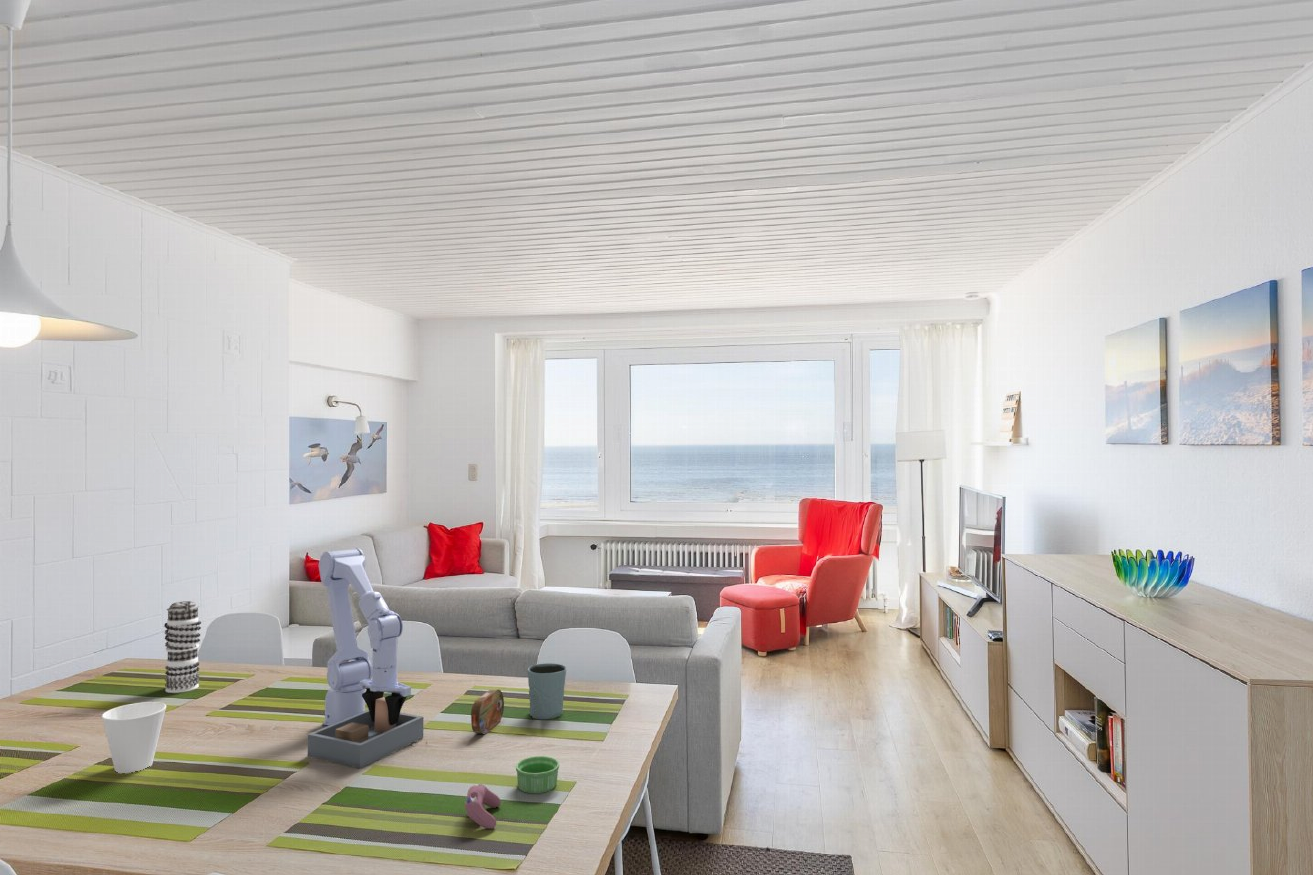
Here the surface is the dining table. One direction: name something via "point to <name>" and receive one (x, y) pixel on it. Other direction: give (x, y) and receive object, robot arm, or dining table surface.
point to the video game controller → (481, 805)
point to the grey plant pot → (546, 690)
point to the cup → (133, 734)
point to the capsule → (382, 716)
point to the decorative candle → (182, 647)
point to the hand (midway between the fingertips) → (384, 721)
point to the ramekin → (537, 774)
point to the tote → (368, 751)
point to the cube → (353, 732)
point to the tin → (487, 711)
